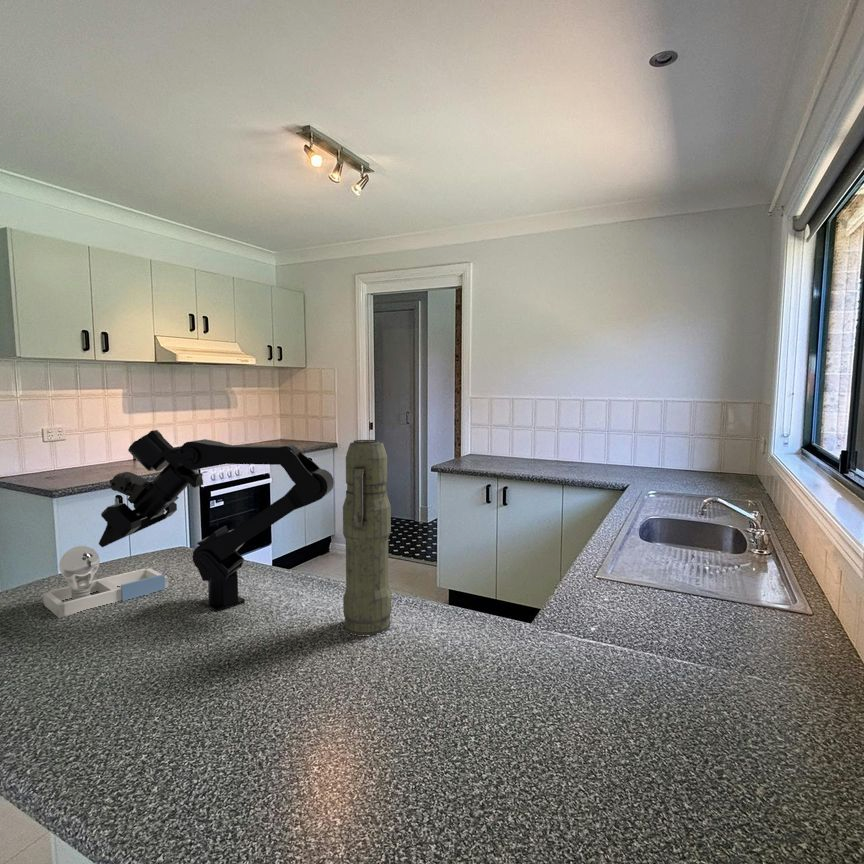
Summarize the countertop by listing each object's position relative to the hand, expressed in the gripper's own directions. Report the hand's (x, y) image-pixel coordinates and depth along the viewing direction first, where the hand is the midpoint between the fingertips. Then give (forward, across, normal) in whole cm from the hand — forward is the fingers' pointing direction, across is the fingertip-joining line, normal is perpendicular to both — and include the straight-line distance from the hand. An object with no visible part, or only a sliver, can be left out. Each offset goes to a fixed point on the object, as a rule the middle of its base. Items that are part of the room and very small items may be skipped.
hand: (114, 539), depth 107 cm
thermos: (-28, +11, +48) cm, 57 cm away
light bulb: (+15, 0, +4) cm, 16 cm away
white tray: (+12, -4, +7) cm, 15 cm away
